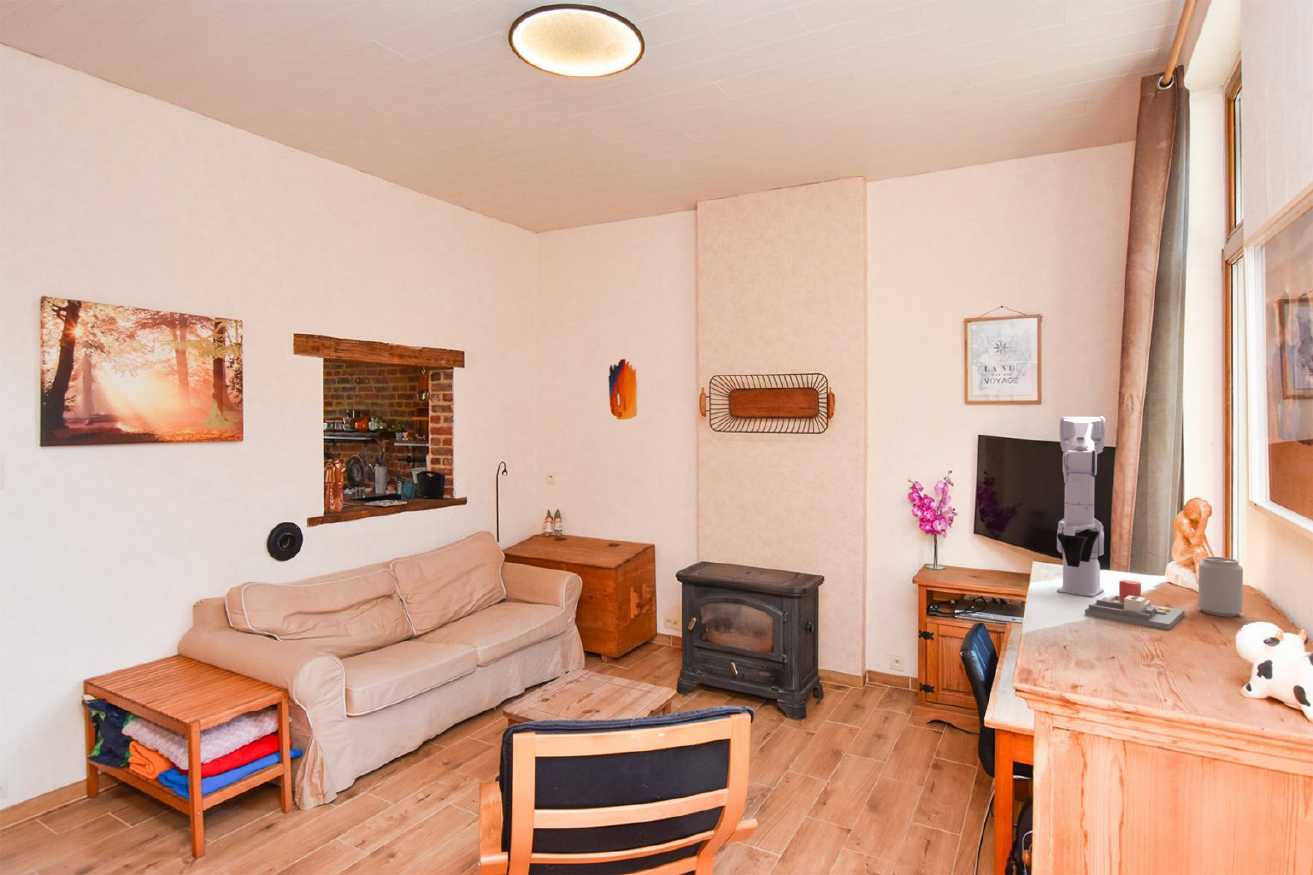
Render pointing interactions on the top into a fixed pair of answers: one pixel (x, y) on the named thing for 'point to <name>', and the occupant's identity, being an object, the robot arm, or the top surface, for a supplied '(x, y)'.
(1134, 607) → the breaker
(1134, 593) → the red rounded cube
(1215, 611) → the can
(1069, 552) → the robot arm
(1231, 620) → the top surface
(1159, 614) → the panel
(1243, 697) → the top surface
